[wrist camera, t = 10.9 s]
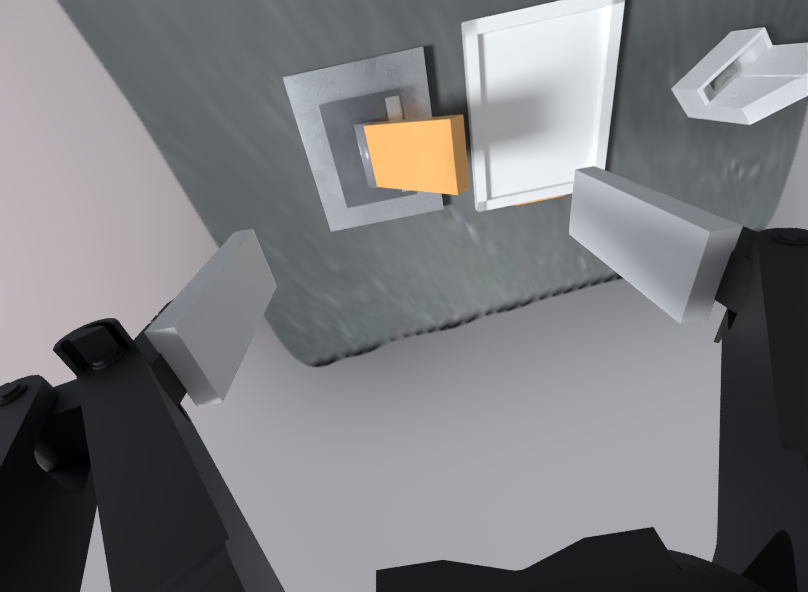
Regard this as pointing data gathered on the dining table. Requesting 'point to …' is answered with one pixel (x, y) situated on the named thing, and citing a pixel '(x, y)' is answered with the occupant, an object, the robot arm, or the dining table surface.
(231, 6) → the dining table surface
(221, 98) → the dining table surface
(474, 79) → the tray
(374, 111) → the panel
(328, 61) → the dining table surface
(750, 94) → the white wedge bracket
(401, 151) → the block
